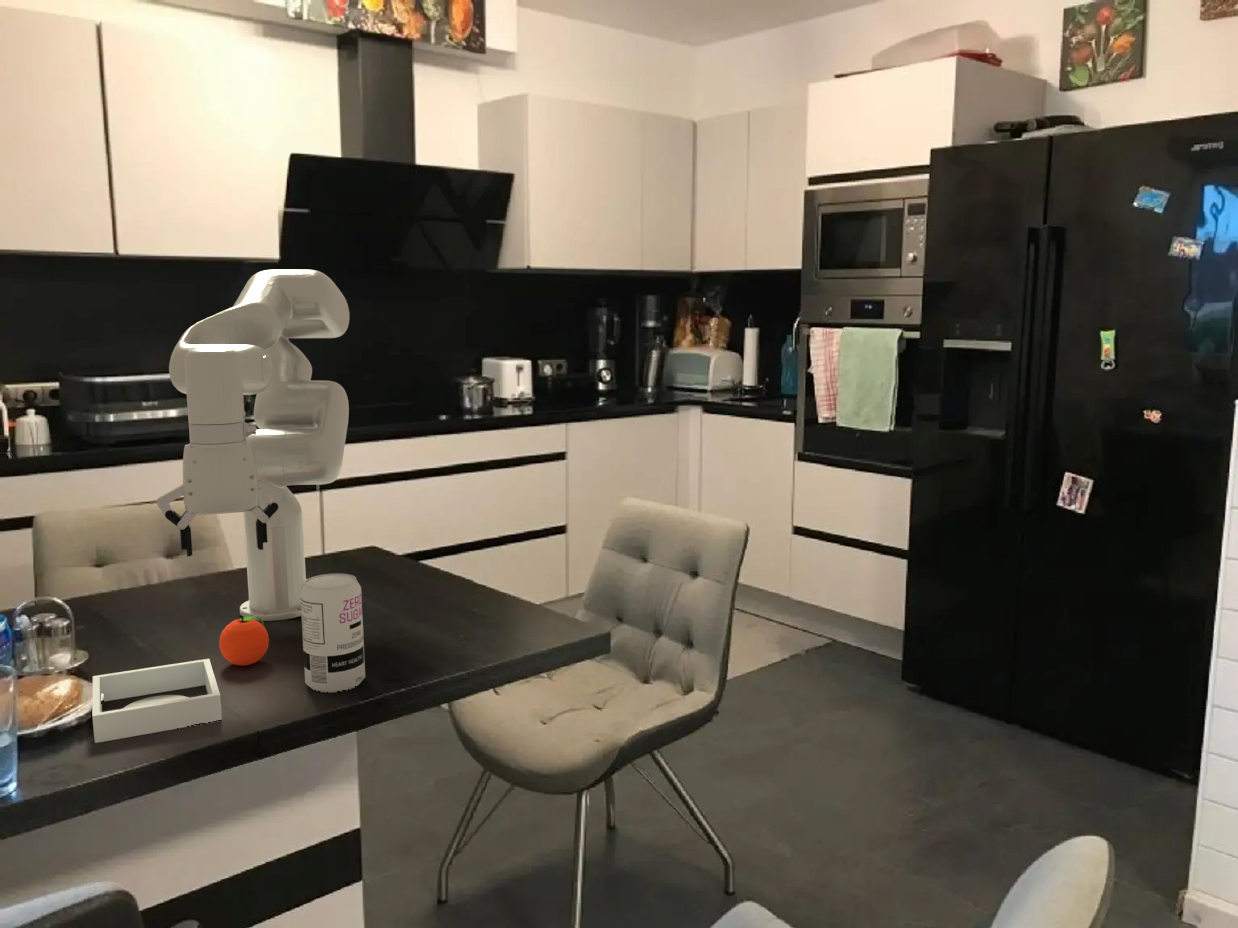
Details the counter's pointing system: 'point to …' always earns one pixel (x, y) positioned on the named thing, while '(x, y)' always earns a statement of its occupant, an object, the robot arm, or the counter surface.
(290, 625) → the counter surface
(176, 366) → the robot arm
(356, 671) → the supplement can
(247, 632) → the clementine
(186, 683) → the hollow rectangular sleeve
